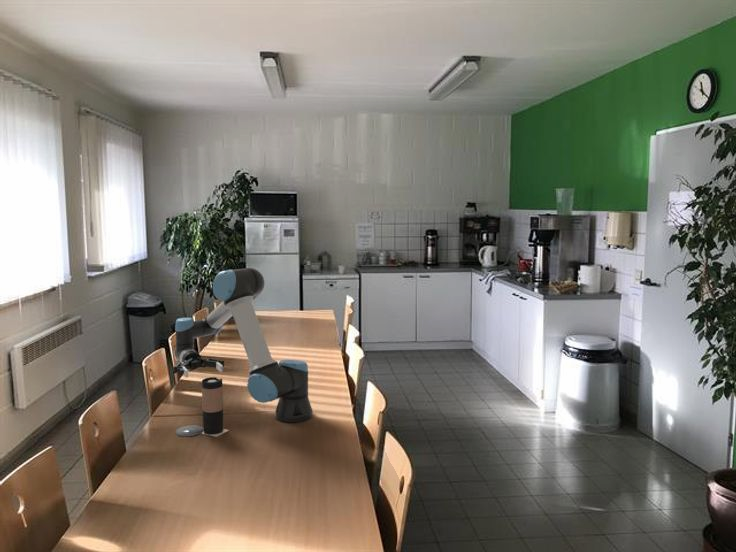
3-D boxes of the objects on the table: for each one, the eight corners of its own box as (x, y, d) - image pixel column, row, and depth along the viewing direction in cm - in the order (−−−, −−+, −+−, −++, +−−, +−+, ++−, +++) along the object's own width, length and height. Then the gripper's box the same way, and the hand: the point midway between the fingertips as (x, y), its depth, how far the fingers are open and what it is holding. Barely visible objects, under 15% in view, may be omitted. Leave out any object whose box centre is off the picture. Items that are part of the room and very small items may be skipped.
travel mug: (202, 435, 220) (201, 383, 217) (203, 428, 227) (201, 377, 225) (224, 433, 222) (222, 382, 219) (223, 426, 229) (222, 376, 227)
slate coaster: (209, 429, 227) (209, 427, 226) (190, 438, 218) (190, 436, 218) (189, 425, 231) (189, 423, 231) (170, 433, 222) (170, 432, 222)
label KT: (228, 430, 225) (228, 430, 225) (216, 436, 219) (216, 436, 219) (210, 426, 229) (210, 426, 229) (197, 432, 223) (197, 432, 223)
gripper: (220, 364, 255) (235, 376, 237) (160, 371, 243) (172, 385, 224) (219, 347, 254) (235, 358, 236) (159, 354, 242) (171, 366, 224)
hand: (204, 371), depth 230 cm, fingers open, 13 cm apart
